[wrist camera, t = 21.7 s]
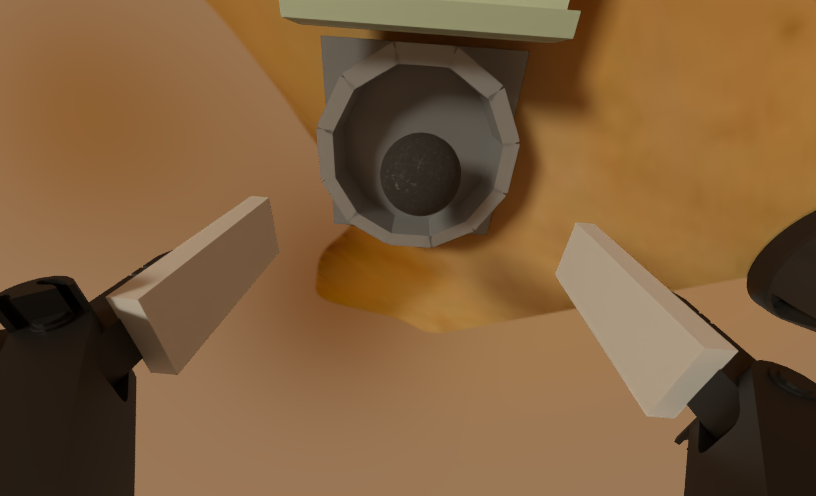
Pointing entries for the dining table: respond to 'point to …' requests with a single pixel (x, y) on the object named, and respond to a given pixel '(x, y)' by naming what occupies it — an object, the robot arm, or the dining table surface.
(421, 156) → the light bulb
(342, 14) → the pale green square board
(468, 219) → the holder
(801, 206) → the dining table surface
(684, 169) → the dining table surface
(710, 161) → the dining table surface
